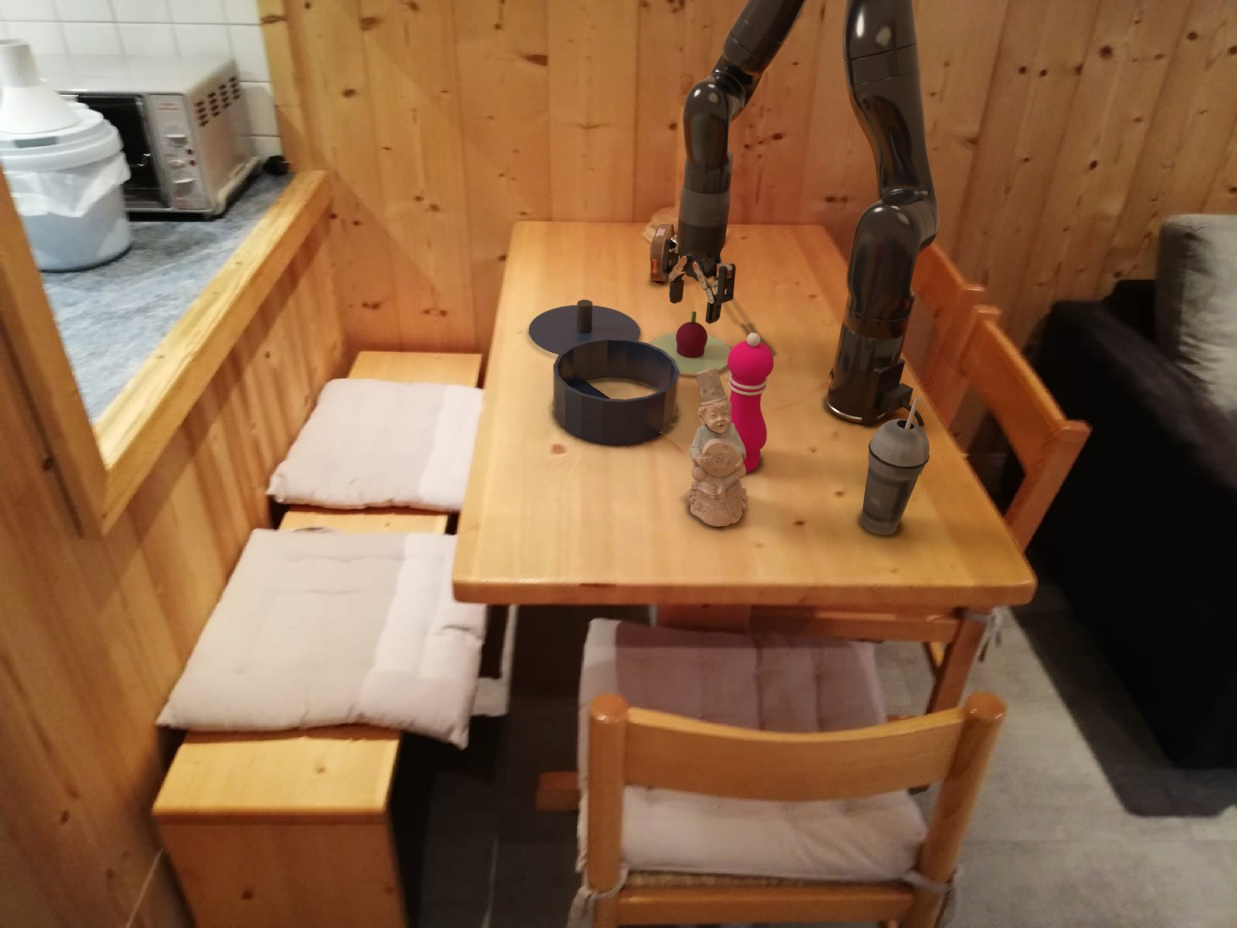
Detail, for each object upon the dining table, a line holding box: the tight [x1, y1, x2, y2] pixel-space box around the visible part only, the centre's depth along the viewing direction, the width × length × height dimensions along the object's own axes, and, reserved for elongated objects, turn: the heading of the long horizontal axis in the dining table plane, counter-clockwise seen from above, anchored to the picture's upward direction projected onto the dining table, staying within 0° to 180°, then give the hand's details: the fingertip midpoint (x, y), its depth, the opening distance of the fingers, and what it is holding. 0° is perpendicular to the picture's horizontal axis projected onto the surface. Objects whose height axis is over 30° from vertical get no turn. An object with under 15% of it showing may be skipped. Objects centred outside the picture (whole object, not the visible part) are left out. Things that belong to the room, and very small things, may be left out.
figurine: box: [684, 367, 749, 527], centre depth 113 cm, size 9×8×20 cm
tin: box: [649, 223, 675, 283], centre depth 176 cm, size 15×3×8 cm, turn 168°
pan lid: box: [528, 299, 641, 356], centre depth 154 cm, size 19×19×6 cm
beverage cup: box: [861, 395, 930, 536], centre depth 112 cm, size 7×7×20 cm
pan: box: [552, 338, 680, 447], centre depth 135 cm, size 18×18×8 cm
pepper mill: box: [726, 332, 775, 473], centre depth 122 cm, size 7×7×20 cm
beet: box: [676, 310, 708, 358], centre depth 149 cm, size 5×5×7 cm
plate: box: [650, 331, 732, 374], centre depth 151 cm, size 14×14×1 cm
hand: (693, 311), depth 147 cm, fingers open, 8 cm apart
